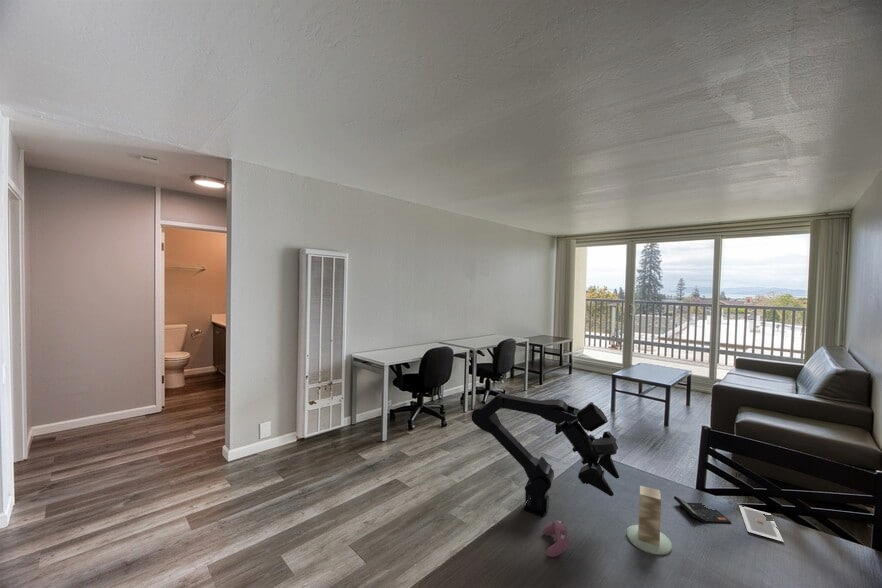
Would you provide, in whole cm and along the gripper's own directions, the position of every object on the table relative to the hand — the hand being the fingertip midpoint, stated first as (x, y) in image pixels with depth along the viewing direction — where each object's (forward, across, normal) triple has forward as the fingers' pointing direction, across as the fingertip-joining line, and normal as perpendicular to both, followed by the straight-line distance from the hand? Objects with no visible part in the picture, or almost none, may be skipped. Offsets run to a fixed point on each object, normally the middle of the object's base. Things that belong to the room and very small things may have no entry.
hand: (615, 486), depth 106 cm
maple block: (+15, 0, +2) cm, 15 cm away
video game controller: (+1, -17, +17) cm, 24 cm away
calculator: (+26, +24, -5) cm, 36 cm away
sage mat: (+16, 0, +2) cm, 16 cm away
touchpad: (+36, +28, -16) cm, 49 cm away
